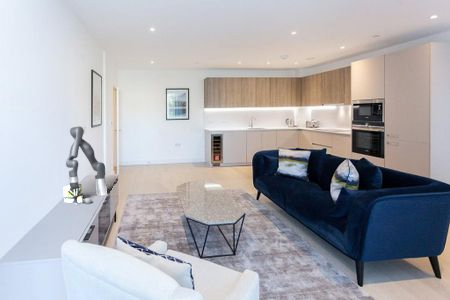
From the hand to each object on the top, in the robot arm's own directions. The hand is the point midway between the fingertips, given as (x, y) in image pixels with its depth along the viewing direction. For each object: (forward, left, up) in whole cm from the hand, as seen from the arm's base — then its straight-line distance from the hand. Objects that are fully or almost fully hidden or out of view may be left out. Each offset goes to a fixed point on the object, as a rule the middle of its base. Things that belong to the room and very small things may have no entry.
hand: (75, 199), depth 332 cm
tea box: (-3, -12, -4) cm, 13 cm away
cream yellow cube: (-3, 0, -1) cm, 4 cm away
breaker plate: (-4, +4, -3) cm, 6 cm away
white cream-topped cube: (-1, +7, -1) cm, 7 cm away
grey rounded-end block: (-6, +12, -3) cm, 14 cm away
